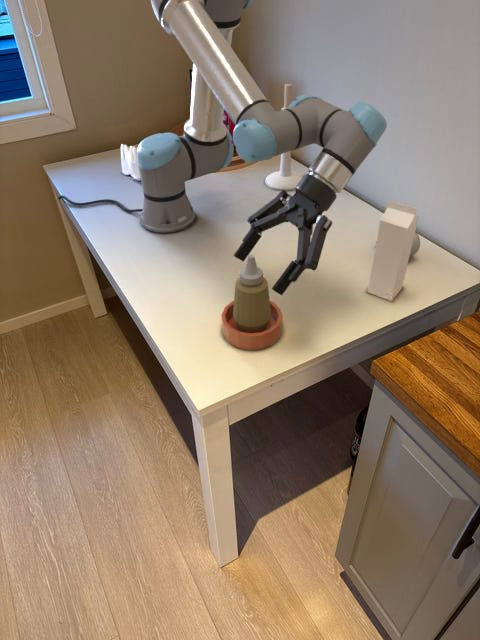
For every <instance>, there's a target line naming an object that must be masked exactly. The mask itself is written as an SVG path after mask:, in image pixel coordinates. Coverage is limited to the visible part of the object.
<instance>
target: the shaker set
mask: <svg viewBox="0 0 480 640" xmlns="http://www.w3.org/2000/svg"><path fill="white" fill-rule="evenodd" d="M137 148H138V147H136V146H132V145H130V146H128V145H127V144H123V143H121V145H120V160H121V173H122V174H124V175H125V176H129V175H130V177H131V178H133V179H134V180H135V181H138V182H141V176H140V171H139V166H138V158H137Z"/></svg>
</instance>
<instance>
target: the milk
mask: <svg viewBox="0 0 480 640" xmlns="http://www.w3.org/2000/svg"><path fill="white" fill-rule="evenodd" d="M419 217H420V216H419V215H417V208H416V207H414V206H411V205H407V204H403V203H400V202H396V201H393V200H389V201H388V203H387V208H386V209H385V210H384V212H383V215H382V216H381V218H380V220H379V226H378V231H377V237H376V241H377V242H376V241H375V249H374V254H373V259H372V263H371V264H372V265H371V270H370V276H369V282H368V286H367V287H368V288H367V293H369V294H372V295H374V296H377V297H379V298H382V299H384V300H387V301H390V302H392V301H393V300H394V298H396V296H397V295H398V294H399V292H400V291H401V290H402V289H403V285H404V281H405V277H406V272H407V268H408V264H409V260H410V257H411V256H410V252H411V247H412V243H413V239H414V235H415V231H416V229H417V225H418V221H419ZM416 232H417V231H416ZM409 256H410V257H409Z"/></svg>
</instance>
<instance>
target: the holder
mask: <svg viewBox="0 0 480 640" xmlns="http://www.w3.org/2000/svg"><path fill="white" fill-rule="evenodd" d="M233 308H234V300H232V301H230V302H229V303H228V304H227V305H225V307H224V308H223V310H222V313H221V316H220V317H221V328H222V334H223V337H224V339H225V340H226V341H227V342H228V343H229V344H230V345H232V346H233V347H236V348H239V349H240V350H241V349H242V350H247V351H256V350H257V351H258V350H262V349H265V348H268V347H270V346H272V345H273V344H275V343H276V342H277V341H278V340H279V339H280V337H281V335H282V330H283V318H284V315H283V313H282V310H281V308H280V306H279V305H277V304H276V303H275V301H272V300H270V308H271V318H270V320H269V322H268V324H267V327H266V329H265V330H264V331H263V332H259V333H245V332H241V331H240V330H239V328H238V326H237V324H236V322H235V320H234V318H233Z"/></svg>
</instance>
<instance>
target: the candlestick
mask: <svg viewBox="0 0 480 640" xmlns="http://www.w3.org/2000/svg"><path fill="white" fill-rule="evenodd" d="M292 89H293V85H292V83H289V82H288V83H285V84H284V92H283V93H284V94H283V95H284V96H283V97H284V98H283V99H284V100H283V101H284V102H283V107H281V110H284V109H288V108H289V106H290V104H291V102H292ZM291 153H292V151H288V152H285V153H283V154H280V162H279V163H280V166H279V170H277V171H274V172H271V173H270V174H268V175H267V176H266V178H265V182H264V183H265V185H266V186H267V187H268V188H270V189H272V190H276V191H280V192H281V191H282V190H285V191H286V192H288V191H296V189H295V188H296V186H297V185H298V183H299V182H300V180H301V179H302V178H303V176H304V175H302V174H301V173H299V172H297V171H293V170H292V155H291Z"/></svg>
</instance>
